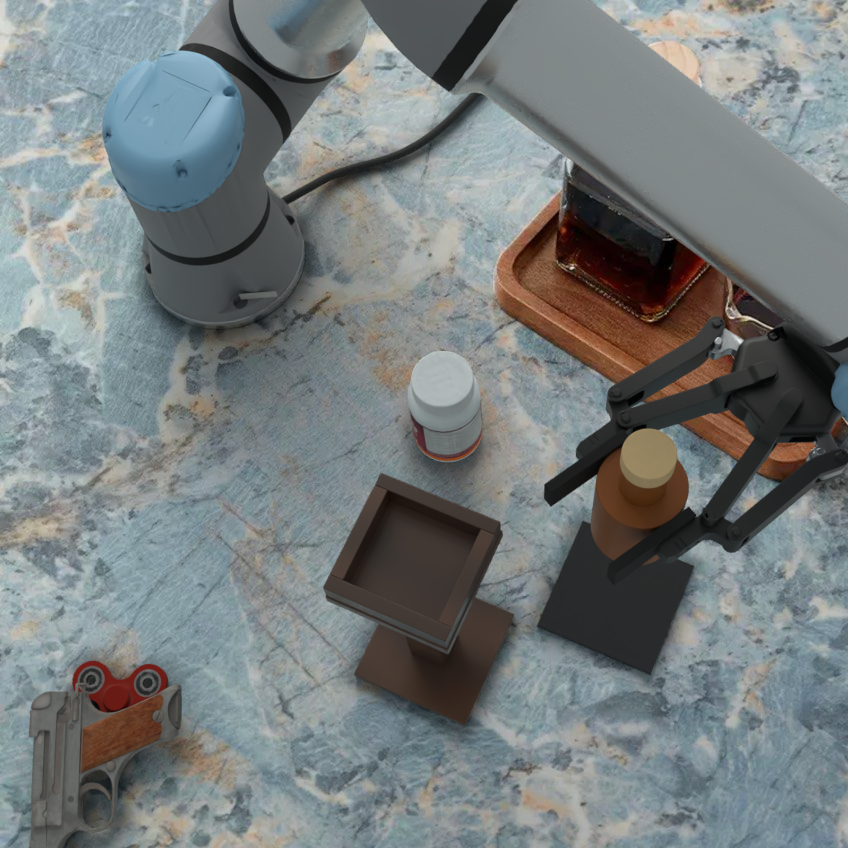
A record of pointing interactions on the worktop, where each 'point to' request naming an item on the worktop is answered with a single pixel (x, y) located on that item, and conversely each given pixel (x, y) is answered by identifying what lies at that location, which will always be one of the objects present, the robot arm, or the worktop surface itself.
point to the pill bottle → (445, 407)
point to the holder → (422, 596)
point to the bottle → (637, 492)
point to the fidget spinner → (119, 685)
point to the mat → (614, 604)
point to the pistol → (87, 754)
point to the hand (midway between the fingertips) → (579, 534)
